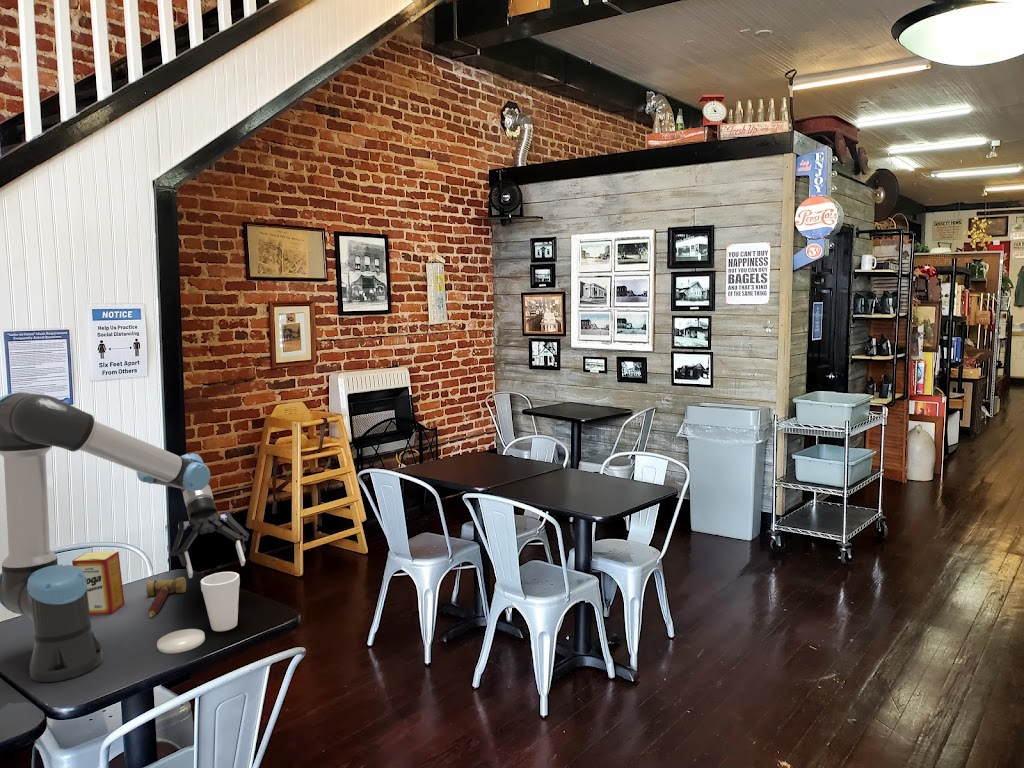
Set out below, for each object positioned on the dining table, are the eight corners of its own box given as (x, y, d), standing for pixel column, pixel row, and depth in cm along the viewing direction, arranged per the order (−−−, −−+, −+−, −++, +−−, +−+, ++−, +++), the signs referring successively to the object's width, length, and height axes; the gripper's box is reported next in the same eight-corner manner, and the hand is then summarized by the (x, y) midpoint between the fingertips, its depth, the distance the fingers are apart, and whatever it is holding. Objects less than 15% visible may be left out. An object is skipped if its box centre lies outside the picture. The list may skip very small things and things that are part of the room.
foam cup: (251, 621, 206) (246, 574, 205) (225, 636, 198) (220, 587, 196) (224, 616, 210) (219, 570, 209) (197, 630, 202) (192, 582, 200)
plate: (177, 656, 188) (176, 652, 188) (147, 648, 193) (147, 643, 193) (214, 638, 197) (214, 633, 197) (185, 630, 203) (184, 626, 202)
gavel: (169, 606, 212) (129, 610, 210) (171, 621, 212) (131, 626, 211) (185, 574, 232) (149, 578, 230) (187, 588, 233) (151, 592, 231)
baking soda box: (78, 615, 216) (71, 559, 214) (92, 605, 222) (85, 551, 220) (112, 614, 216) (105, 558, 214) (124, 604, 222) (118, 550, 220)
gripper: (243, 502, 230) (262, 565, 220) (151, 519, 217) (167, 587, 206) (246, 488, 225) (266, 552, 215) (153, 505, 212) (169, 574, 201)
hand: (217, 569), depth 210 cm, fingers open, 13 cm apart
